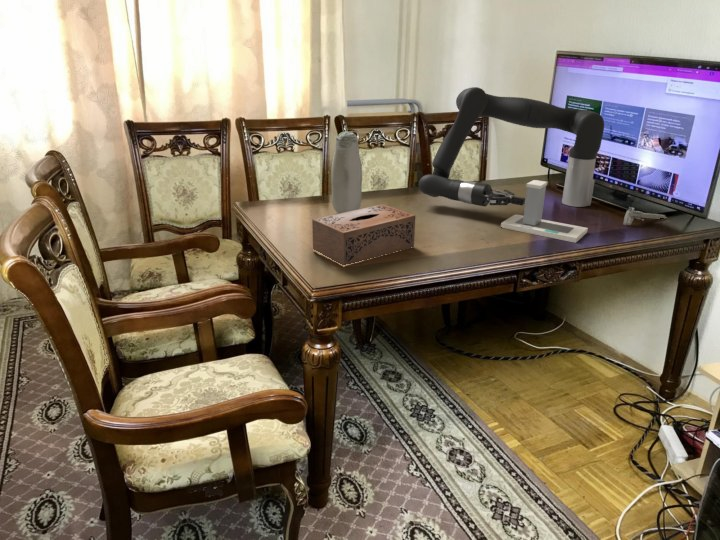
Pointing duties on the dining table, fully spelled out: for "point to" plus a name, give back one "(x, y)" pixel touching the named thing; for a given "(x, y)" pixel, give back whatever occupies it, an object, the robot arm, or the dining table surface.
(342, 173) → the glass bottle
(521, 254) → the dining table surface
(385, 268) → the dining table surface
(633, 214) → the caliper
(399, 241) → the tissue box cover
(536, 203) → the switch tab
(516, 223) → the switch panel
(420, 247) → the dining table surface
